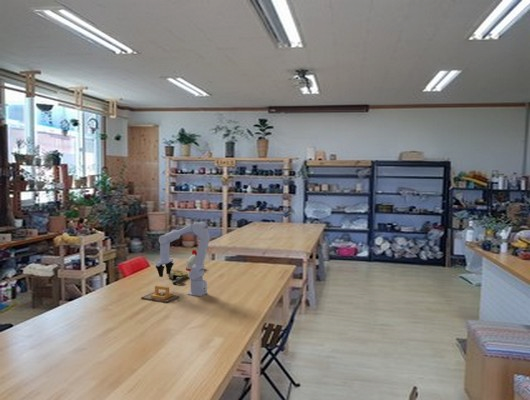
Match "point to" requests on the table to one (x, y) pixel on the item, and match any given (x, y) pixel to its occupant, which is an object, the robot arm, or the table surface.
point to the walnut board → (148, 297)
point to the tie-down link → (160, 293)
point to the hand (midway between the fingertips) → (164, 275)
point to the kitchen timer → (191, 261)
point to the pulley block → (178, 276)
